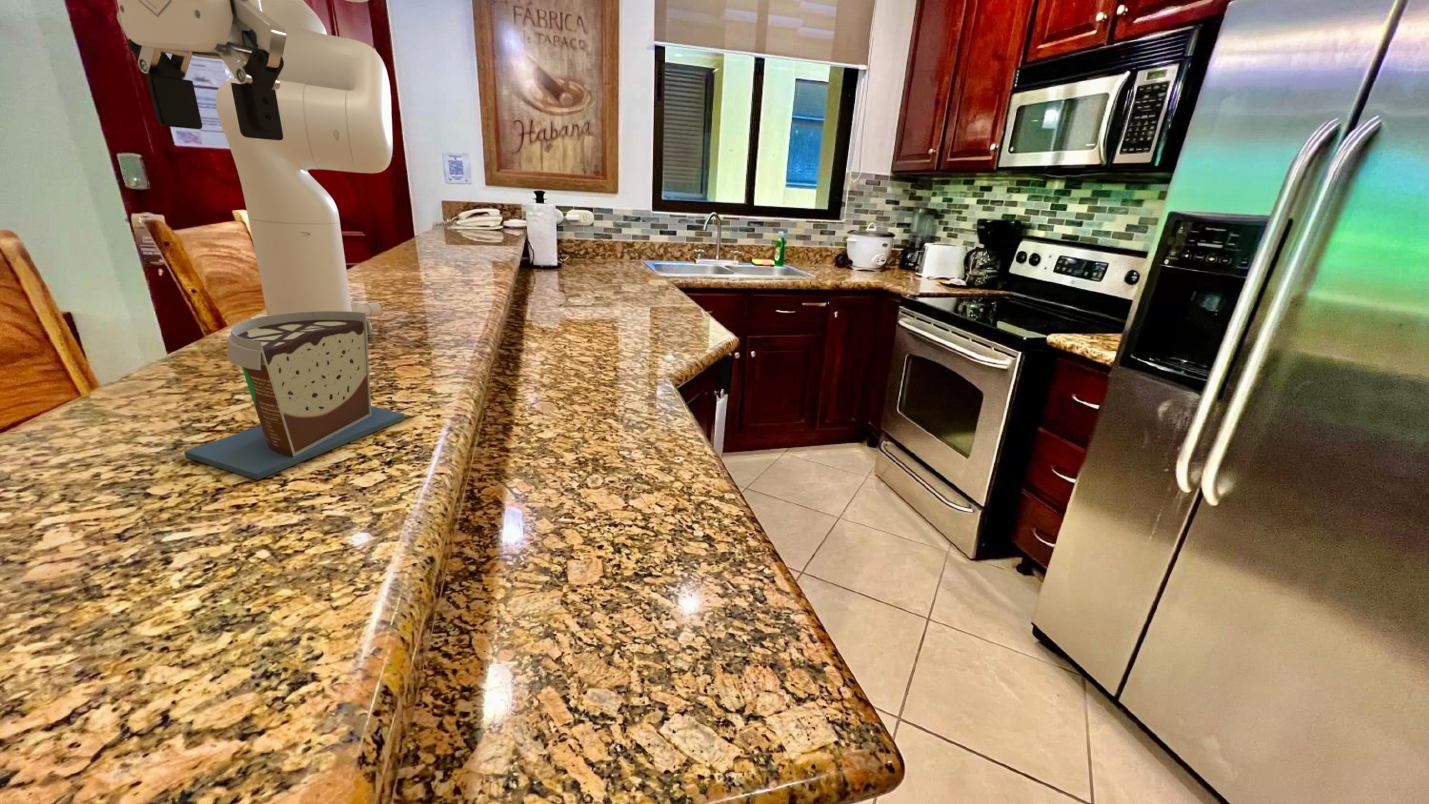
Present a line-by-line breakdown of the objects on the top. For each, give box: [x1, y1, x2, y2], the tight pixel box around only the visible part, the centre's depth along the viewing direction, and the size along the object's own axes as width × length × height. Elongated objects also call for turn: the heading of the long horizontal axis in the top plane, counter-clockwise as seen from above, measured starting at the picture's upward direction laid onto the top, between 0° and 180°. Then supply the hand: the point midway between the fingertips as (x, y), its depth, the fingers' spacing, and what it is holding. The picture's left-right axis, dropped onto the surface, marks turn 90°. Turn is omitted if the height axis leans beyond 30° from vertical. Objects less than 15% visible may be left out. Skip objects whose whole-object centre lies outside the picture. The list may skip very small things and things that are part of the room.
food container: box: [226, 311, 373, 457], centre depth 48 cm, size 12×6×10 cm, turn 174°
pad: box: [183, 405, 406, 481], centre depth 50 cm, size 14×8×1 cm, turn 162°
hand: (221, 133), depth 48 cm, fingers open, 9 cm apart
